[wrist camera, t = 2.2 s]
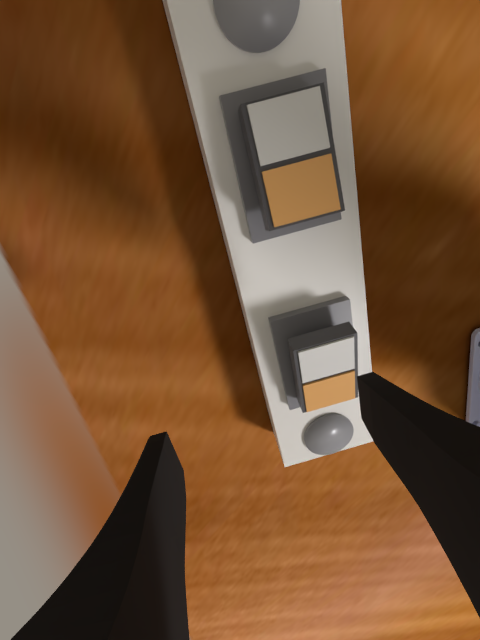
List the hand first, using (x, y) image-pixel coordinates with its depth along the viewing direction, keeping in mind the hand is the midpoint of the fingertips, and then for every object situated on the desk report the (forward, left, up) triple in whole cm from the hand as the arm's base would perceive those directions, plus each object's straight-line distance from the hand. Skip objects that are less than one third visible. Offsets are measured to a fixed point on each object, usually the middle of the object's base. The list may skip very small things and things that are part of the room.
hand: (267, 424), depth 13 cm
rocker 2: (-2, -4, -5) cm, 6 cm away
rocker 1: (+8, -4, -5) cm, 10 cm away
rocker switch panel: (+3, -4, -9) cm, 10 cm away
